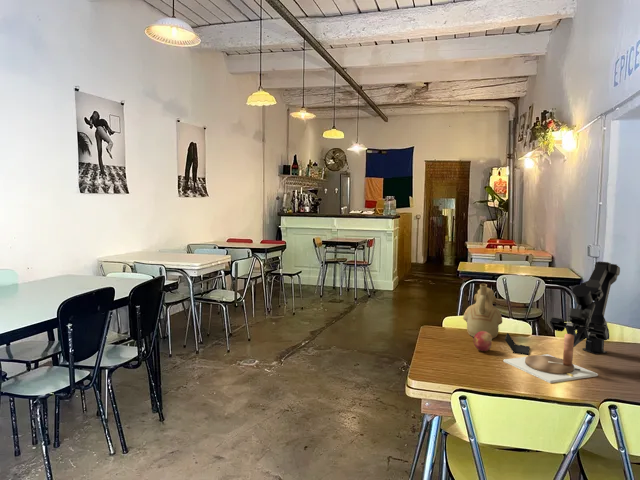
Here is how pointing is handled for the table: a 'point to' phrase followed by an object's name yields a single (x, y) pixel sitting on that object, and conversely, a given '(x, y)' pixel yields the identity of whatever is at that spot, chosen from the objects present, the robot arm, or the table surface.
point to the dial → (554, 359)
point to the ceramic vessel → (483, 313)
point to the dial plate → (550, 377)
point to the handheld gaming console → (517, 346)
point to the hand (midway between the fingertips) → (571, 346)
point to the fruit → (483, 341)
